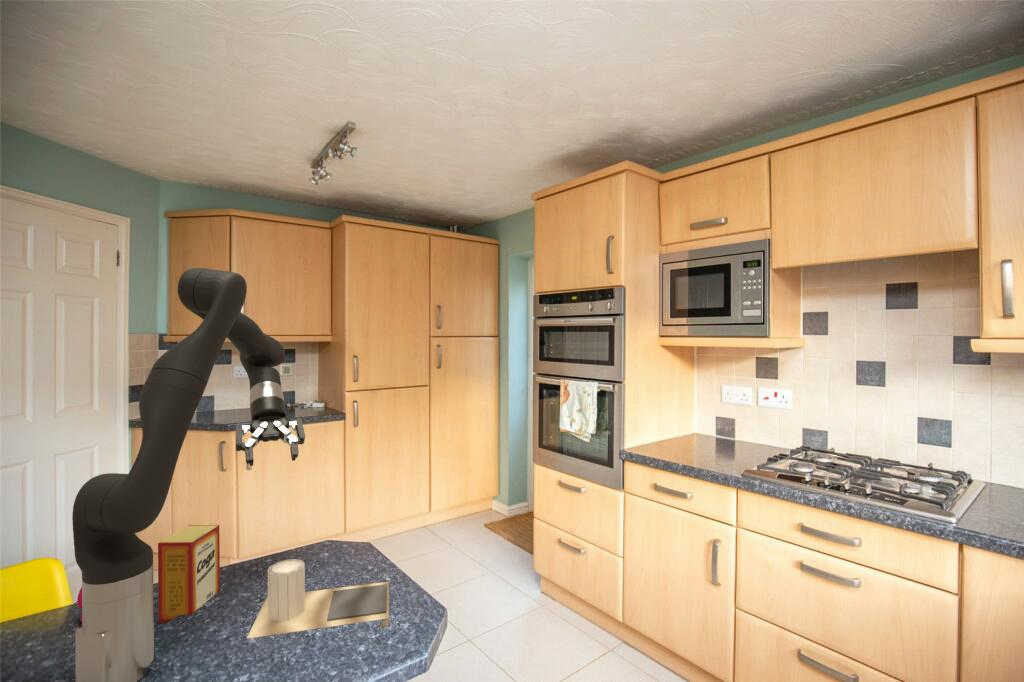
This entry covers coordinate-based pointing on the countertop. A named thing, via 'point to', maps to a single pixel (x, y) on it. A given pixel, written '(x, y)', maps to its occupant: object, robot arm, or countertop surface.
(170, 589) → the red cream cardboard box
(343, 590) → the board
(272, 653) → the countertop surface
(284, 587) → the cover cup
